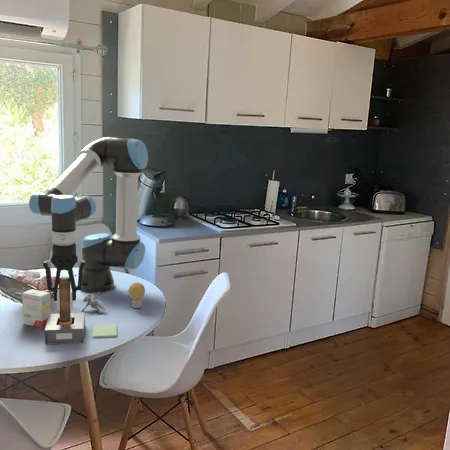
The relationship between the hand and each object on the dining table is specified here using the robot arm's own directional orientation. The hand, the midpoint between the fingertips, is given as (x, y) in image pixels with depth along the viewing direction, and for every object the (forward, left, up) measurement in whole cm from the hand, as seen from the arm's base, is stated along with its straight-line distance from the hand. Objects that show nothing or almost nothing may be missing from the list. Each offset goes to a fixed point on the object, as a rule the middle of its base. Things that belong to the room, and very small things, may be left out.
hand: (65, 309), depth 165 cm
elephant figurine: (-21, +9, -10) cm, 24 cm away
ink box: (-10, -10, -10) cm, 17 cm away
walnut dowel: (0, 0, -4) cm, 4 cm away
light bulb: (-22, +25, -10) cm, 34 cm away
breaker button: (0, 0, -7) cm, 7 cm away
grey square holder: (0, 0, -9) cm, 9 cm away
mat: (-1, +13, -9) cm, 16 cm away
